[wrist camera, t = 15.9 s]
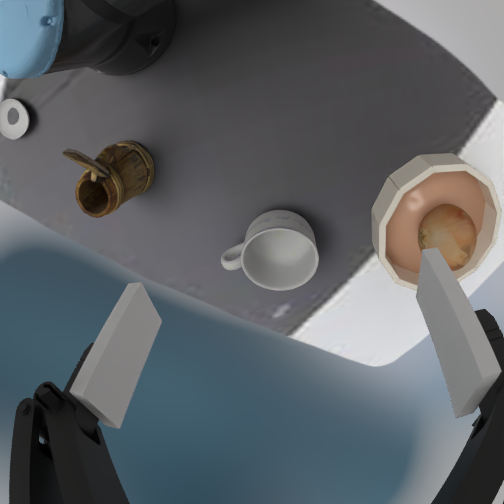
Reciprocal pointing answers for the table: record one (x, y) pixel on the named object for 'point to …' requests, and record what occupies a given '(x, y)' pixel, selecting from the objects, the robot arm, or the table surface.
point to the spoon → (21, 126)
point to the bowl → (423, 201)
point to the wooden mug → (112, 177)
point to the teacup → (276, 251)
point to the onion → (449, 234)
